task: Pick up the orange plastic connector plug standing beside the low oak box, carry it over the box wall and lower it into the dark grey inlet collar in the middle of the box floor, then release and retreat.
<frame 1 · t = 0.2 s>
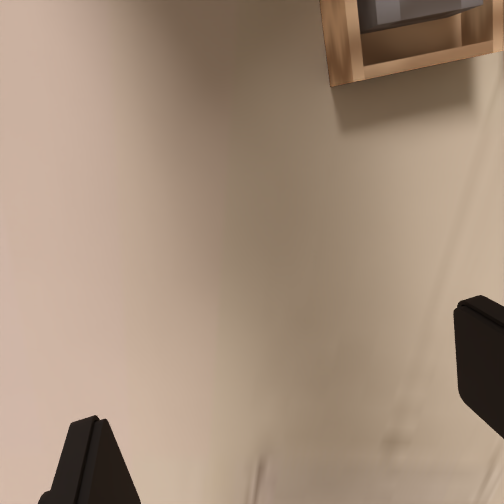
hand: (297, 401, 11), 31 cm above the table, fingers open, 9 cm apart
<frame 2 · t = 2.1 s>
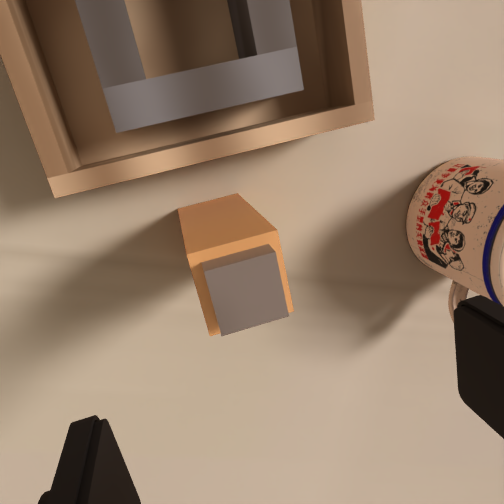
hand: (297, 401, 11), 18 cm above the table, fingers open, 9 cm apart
teacup with lid: (448, 233, 32), on the table
oak box: (181, 28, 24), on the table
connector: (215, 230, 28), on the table
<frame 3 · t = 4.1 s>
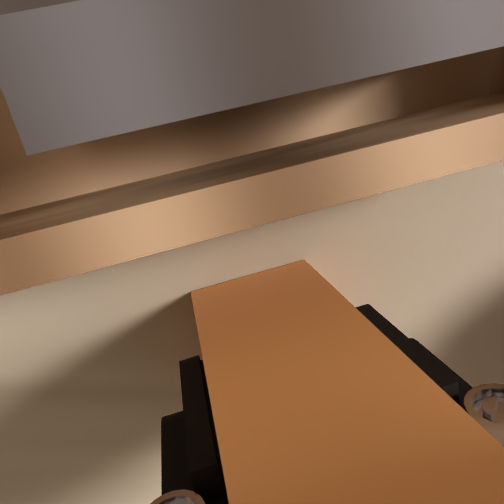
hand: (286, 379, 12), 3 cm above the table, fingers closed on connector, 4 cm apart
connector: (260, 326, 15), on the table, touching gripper
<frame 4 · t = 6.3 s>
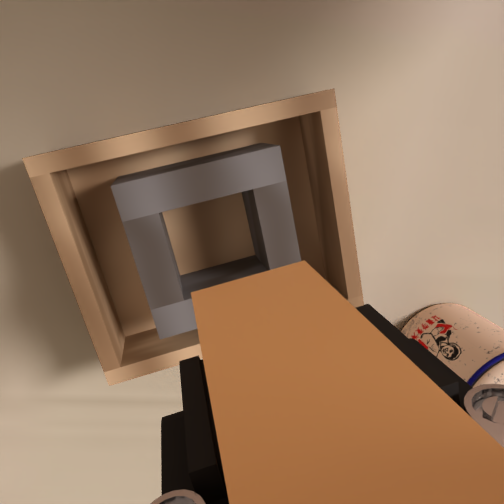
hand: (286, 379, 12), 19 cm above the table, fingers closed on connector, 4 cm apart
teacup with lid: (429, 360, 37), on the table
oak box: (207, 225, 29), on the table
connector: (260, 327, 15), point 16 cm above the table, touching gripper
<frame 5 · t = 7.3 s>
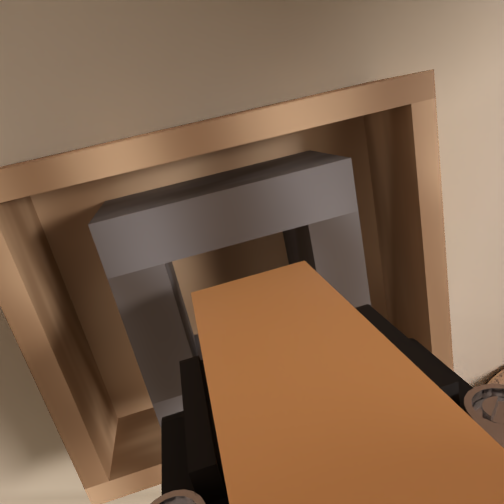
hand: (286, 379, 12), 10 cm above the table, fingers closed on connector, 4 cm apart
oak box: (230, 264, 21), on the table
connector: (260, 327, 15), point 7 cm above the table, touching gripper
when the fingers open (7 cm above the table, at t = 8.3 s): connector drops 2 cm, resting on oak box.
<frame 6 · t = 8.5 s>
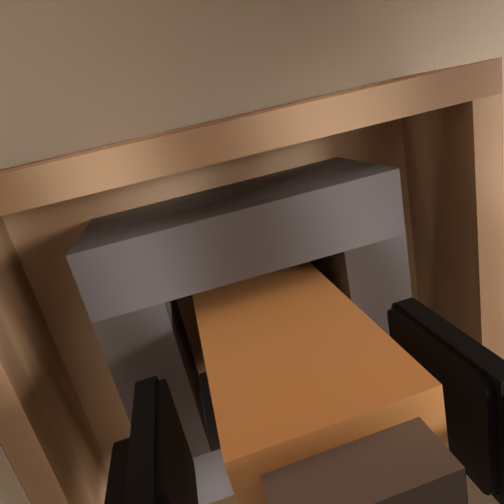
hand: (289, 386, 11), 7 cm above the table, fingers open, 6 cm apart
oak box: (242, 289, 18), on the table
connector: (248, 298, 17), point 1 cm above the table, touching oak box
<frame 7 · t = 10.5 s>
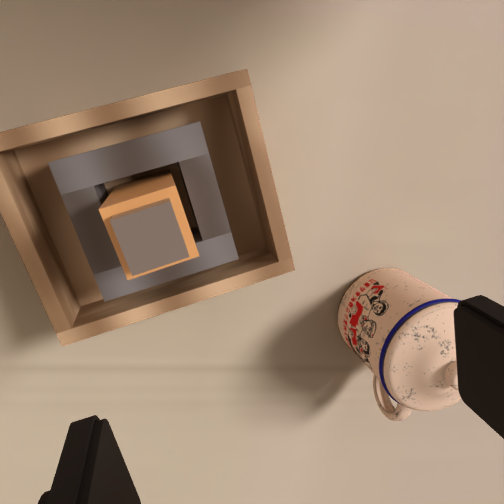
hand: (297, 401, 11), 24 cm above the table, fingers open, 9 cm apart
teacup with lid: (374, 324, 40), on the table
oak box: (151, 201, 32), on the table
connector: (152, 203, 31), point 1 cm above the table, touching oak box
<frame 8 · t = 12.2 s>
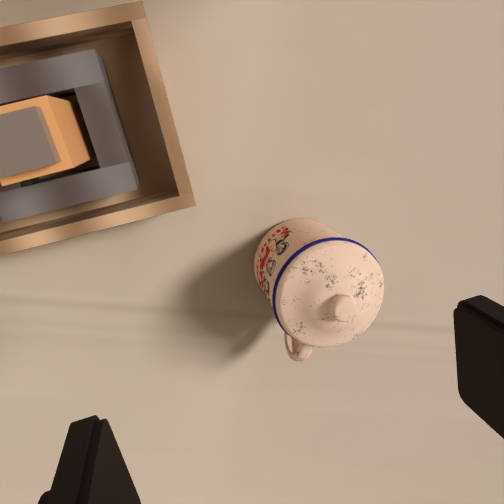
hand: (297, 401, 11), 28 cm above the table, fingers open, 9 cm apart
teacup with lid: (292, 274, 41), on the table
oak box: (64, 136, 34), on the table
connector: (62, 136, 33), point 1 cm above the table, touching oak box
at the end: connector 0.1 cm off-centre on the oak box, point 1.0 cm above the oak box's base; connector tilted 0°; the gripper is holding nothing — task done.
